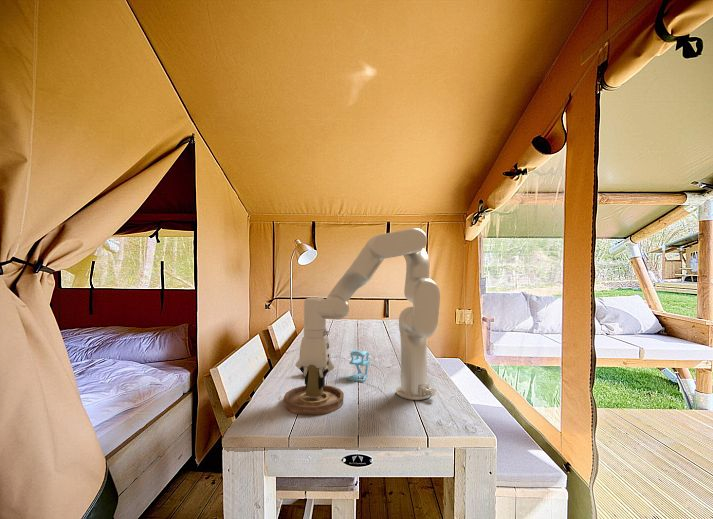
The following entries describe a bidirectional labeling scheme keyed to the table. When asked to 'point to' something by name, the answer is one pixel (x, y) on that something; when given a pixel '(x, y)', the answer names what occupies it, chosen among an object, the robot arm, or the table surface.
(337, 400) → the ring tray
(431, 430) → the table surface
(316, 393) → the cork
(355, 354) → the chair
